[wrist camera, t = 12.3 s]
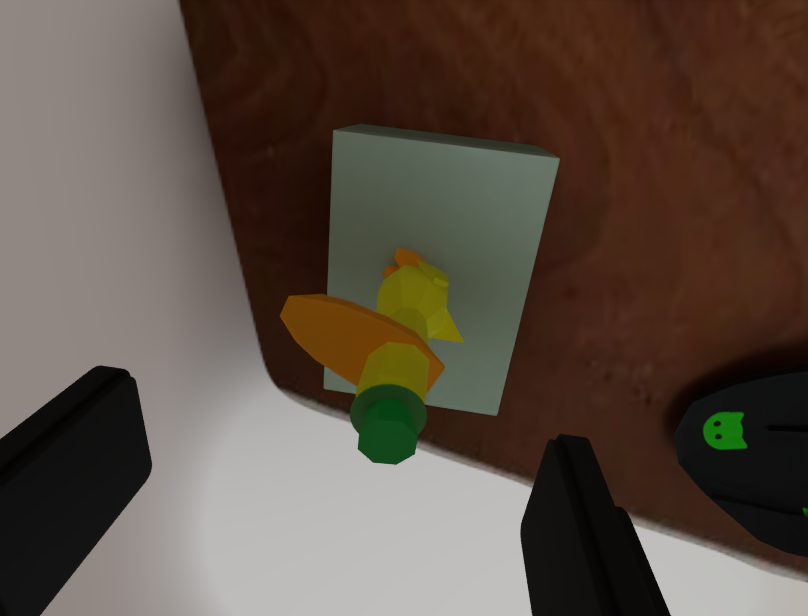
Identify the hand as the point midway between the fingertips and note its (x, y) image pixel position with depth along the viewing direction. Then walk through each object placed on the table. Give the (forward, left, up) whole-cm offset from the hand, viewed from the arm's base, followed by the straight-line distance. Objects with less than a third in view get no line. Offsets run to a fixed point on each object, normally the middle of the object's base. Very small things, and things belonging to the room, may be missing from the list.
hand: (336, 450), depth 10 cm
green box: (+1, -1, -19) cm, 19 cm away
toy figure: (0, 0, -13) cm, 13 cm away
